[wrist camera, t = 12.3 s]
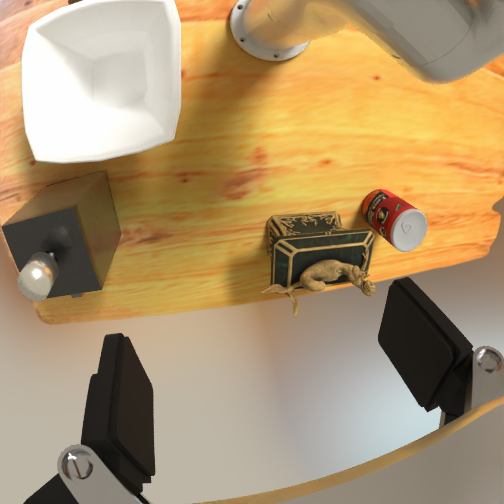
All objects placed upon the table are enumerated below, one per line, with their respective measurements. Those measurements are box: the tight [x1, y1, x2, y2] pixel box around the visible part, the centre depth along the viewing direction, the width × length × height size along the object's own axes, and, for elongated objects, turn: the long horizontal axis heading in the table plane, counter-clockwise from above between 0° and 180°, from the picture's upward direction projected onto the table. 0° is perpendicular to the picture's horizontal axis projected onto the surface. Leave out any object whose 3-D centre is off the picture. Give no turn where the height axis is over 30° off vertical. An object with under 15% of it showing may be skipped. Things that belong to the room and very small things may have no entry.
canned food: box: [362, 189, 427, 252], centre depth 52 cm, size 8×8×11 cm
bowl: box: [21, 0, 181, 164], centre depth 31 cm, size 19×19×14 cm
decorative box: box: [260, 211, 376, 317], centre depth 47 cm, size 20×10×20 cm, turn 90°
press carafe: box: [2, 171, 121, 298], centre depth 39 cm, size 14×11×16 cm
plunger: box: [17, 250, 59, 302], centre depth 36 cm, size 9×9×20 cm
